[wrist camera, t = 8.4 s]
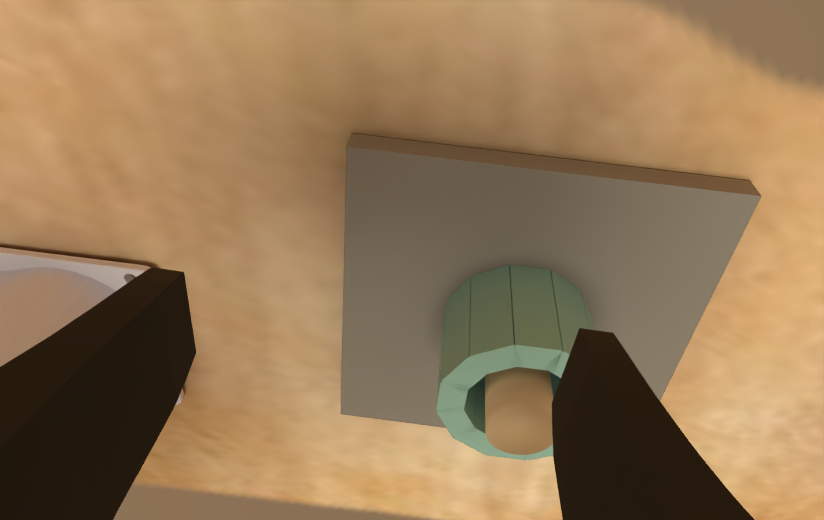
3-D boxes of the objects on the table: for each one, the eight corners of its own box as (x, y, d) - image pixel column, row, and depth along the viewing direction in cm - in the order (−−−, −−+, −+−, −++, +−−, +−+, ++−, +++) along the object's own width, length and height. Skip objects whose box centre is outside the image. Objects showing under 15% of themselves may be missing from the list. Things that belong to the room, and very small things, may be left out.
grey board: (344, 396, 28) (340, 414, 27) (352, 133, 20) (346, 146, 19) (629, 433, 27) (634, 452, 26) (750, 180, 20) (761, 196, 19)
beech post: (480, 341, 23) (480, 450, 19) (489, 298, 22) (491, 405, 18) (537, 348, 23) (548, 459, 19) (549, 305, 22) (564, 414, 18)
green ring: (436, 364, 24) (429, 447, 21) (453, 257, 21) (448, 336, 18) (569, 381, 24) (583, 467, 21) (607, 276, 21) (629, 359, 18)
